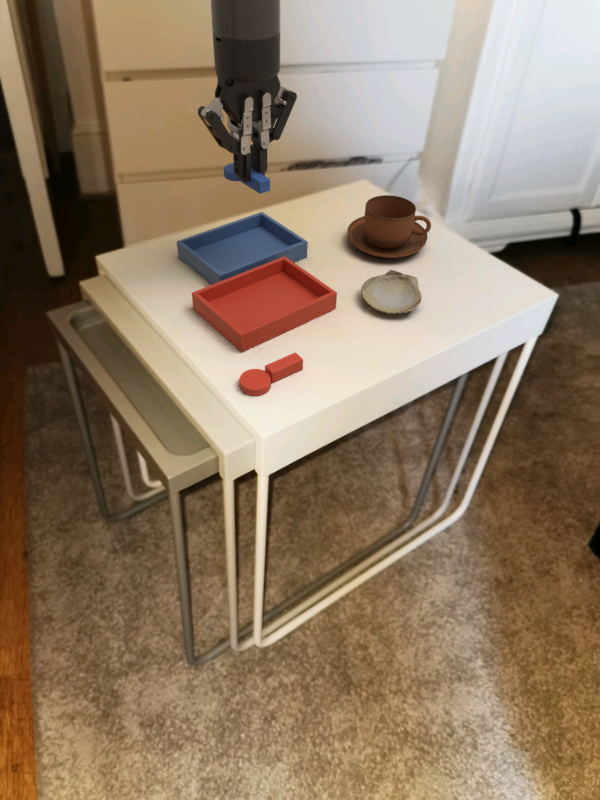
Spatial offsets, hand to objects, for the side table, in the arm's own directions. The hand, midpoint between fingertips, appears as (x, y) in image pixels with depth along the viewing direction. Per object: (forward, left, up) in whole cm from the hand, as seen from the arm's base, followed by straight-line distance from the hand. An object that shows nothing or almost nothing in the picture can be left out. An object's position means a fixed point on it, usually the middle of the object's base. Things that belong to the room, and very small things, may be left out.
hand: (250, 177), depth 82 cm
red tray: (-7, -7, -13) cm, 17 cm away
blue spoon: (0, +1, -1) cm, 1 cm away
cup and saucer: (+17, -12, -14) cm, 25 cm away
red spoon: (-18, -16, -13) cm, 28 cm away
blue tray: (+1, +3, -13) cm, 14 cm away
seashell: (+4, -20, -14) cm, 25 cm away
